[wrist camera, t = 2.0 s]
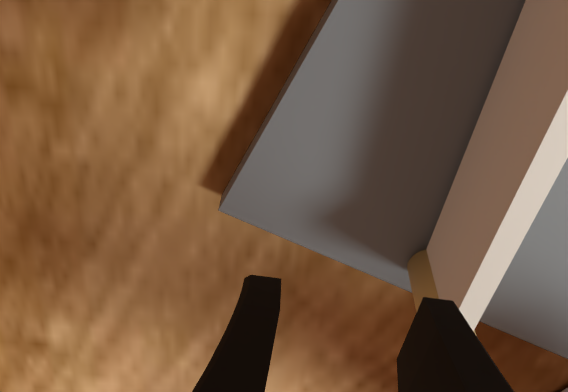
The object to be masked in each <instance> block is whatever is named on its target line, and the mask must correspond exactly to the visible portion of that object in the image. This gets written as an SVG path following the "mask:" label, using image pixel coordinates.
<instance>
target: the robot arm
mask: <svg viewBox="0 0 568 392" xmlns="http://www.w3.org/2000/svg"><path fill="white" fill-rule="evenodd" d="M280 297H281V279H279V278H271V277H264V276H256V275H250V276H248V277H246V278H245V279H244V283H243V288H242V291H241V294H240V297H239V300H238V303H237V305H236V308H235V310H234V313H233V315H232V317H231V320H230V322H229V324H228V326H227V329H226V331H225V333H224V335H223V337H222V339H221V341H220V343H219V344H218V346H217V348H216V350H215V352H214V354H213V356H212V358H211V360H210V362H209V364H208V366H207V367H206V369H205V371H204V373H203V374H202V376H201V378H200V379H199V381H198V383H197V384H196V386H195V388H194V389H193V391H192V392H265V387H266V381H267V376H268V371H269V365H270V360H271V355H272V349H273V344H274V339H275V333H276V328H277V323H278V317H279V312H280ZM397 373H398V392H514V391H513V389H512V388H511V387H510V385H509V384H508V382H507V381H506V380H505V378H504V377H503V375H502V374H501V372H500V371H499V369H498V368H497V366H496V365H495V363H494V362H493V360H492V359H491V357H490V356H489V354H488V353H487V351H486V350H485V348H484V347H483V345H482V344H481V342H480V341H479V339H478V338H477V336H476V335H475V333H474V332H473V330H472V329H471V327H470V325H469V324H468V322H467V321H466V319H465V318H464V316H463V315H462V313H461V312H460V310H459V309H458V307H457V306H456V304H455V303H454V301H452V300H444V299H436V298H428V297H423V299H422V301H421V304H420V306H419V308H418V311H417V313H416V315H415V318H414V320H413V322H412V325H411V327H410V329H409V332H408V334H407V336H406V339H405V341H404V343H403V346H402V348H401V350H400V353H399V355H398V357H397ZM562 392H568V388H566V389H565V390H563V391H562Z"/></svg>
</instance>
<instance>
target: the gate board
mask: <svg viewBox="0 0 568 392" xmlns="http://www.w3.org/2000/svg"><path fill="white" fill-rule="evenodd" d="M525 1H526V0H332V1H331V2H330V4H329V6H328V8H327V10H326V11H325V13H324V15H323V17H322V18H321V20H320V22H319V24H318V26H317V27H316V29H315V31H314V33H313V34H312V36H311V38H310V40H309V42H308V43H307V45H306V47H305V49H304V50H303V52H302V54H301V56H300V58H299V59H298V61H297V63H296V65H295V66H294V68H293V70H292V72H291V73H290V75H289V77H288V79H287V81H286V82H285V84H284V86H283V88H282V89H281V91H280V93H279V95H278V97H277V98H276V100H275V102H274V104H273V105H272V107H271V109H270V111H269V113H268V114H267V116H266V118H265V120H264V121H263V123H262V125H261V127H260V129H259V130H258V132H257V134H256V136H255V137H254V139H253V141H252V143H251V145H250V146H249V148H248V150H247V152H246V153H245V155H244V157H243V159H242V161H241V162H240V164H239V166H238V168H237V169H236V171H235V173H234V175H233V176H232V178H231V180H230V182H229V184H228V185H227V187H226V189H225V191H224V192H223V194H222V197H221V201H220V206H219V210H218V211H221V212H223V213H225V214H228V215H230V216H232V217H235V218H237V219H240V220H242V221H244V222H247V223H249V224H251V225H254V226H256V227H258V228H261V229H263V230H265V231H268V232H270V233H272V234H275V235H277V236H280V237H282V238H284V239H287V240H289V241H291V242H294V243H296V244H298V245H301V246H303V247H305V248H308V249H310V250H312V251H315V252H317V253H320V254H322V255H324V256H327V257H329V258H331V259H334V260H336V261H338V262H341V263H343V264H345V265H348V266H350V267H352V268H355V269H357V270H360V271H362V272H364V273H367V274H369V275H371V276H374V277H376V278H378V279H381V280H383V281H385V282H388V283H390V284H392V285H395V286H397V287H400V288H402V289H404V290H407V291H409V292H411V293H412V289H411V284H410V279H409V275H408V270H407V265H408V262H409V260H410V258H411V257H412V256H413V255H415V254H416V253H418V252H420V251H422V250H426V249H427V246H428V244H429V241H430V239H431V236H432V234H433V231H434V229H435V226H436V224H437V221H438V219H439V216H440V214H441V211H442V209H443V206H444V204H445V201H446V199H447V196H448V194H449V191H450V189H451V186H452V184H453V181H454V179H455V176H456V174H457V171H458V169H459V166H460V164H461V161H462V159H463V156H464V154H465V151H466V149H467V146H468V144H469V141H470V139H471V136H472V134H473V131H474V129H475V126H476V124H477V121H478V119H479V116H480V114H481V111H482V109H483V106H484V104H485V101H486V99H487V96H488V94H489V91H490V89H491V86H492V84H493V81H494V79H495V76H496V74H497V71H498V69H499V66H500V64H501V61H502V59H503V56H504V53H505V51H506V48H507V46H508V43H509V41H510V38H511V36H512V33H513V31H514V28H515V26H516V23H517V21H518V18H519V16H520V13H521V11H522V8H523V6H524V3H525ZM479 321H480V322H482V323H484V324H487V325H489V326H491V327H494V328H496V329H498V330H501V331H503V332H505V333H508V334H510V335H513V336H515V337H517V338H520V339H522V340H524V341H527V342H529V343H531V344H534V345H536V346H538V347H541V348H543V349H545V350H548V351H550V352H553V353H555V354H557V355H560V356H562V357H564V358H567V359H568V158H567V160H566V162H565V163H564V165H563V167H562V169H561V171H560V173H559V175H558V176H557V178H556V180H555V182H554V184H553V186H552V187H551V189H550V191H549V193H548V195H547V197H546V198H545V200H544V202H543V204H542V206H541V208H540V210H539V211H538V213H537V215H536V217H535V219H534V221H533V222H532V224H531V226H530V228H529V230H528V232H527V234H526V235H525V237H524V239H523V241H522V243H521V245H520V246H519V248H518V250H517V252H516V254H515V256H514V257H513V259H512V261H511V263H510V265H509V267H508V269H507V270H506V272H505V274H504V276H503V278H502V280H501V281H500V283H499V285H498V287H497V289H496V291H495V292H494V294H493V296H492V298H491V300H490V302H489V304H488V305H487V307H486V309H485V311H484V313H483V315H482V316H481V318H480V320H479Z"/></svg>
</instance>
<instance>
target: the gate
mask: <svg viewBox="0 0 568 392" xmlns="http://www.w3.org/2000/svg"><path fill="white" fill-rule="evenodd" d="M567 158H568V0H526V1H525V3H524V6H523V8H522V11H521V13H520V16H519V18H518V21H517V23H516V26H515V28H514V31H513V33H512V36H511V38H510V41H509V43H508V46H507V48H506V51H505V53H504V56H503V59H502V61H501V64H500V66H499V69H498V71H497V74H496V76H495V79H494V81H493V84H492V86H491V89H490V91H489V94H488V96H487V99H486V101H485V104H484V106H483V109H482V111H481V114H480V116H479V119H478V121H477V124H476V126H475V129H474V131H473V134H472V136H471V139H470V141H469V144H468V146H467V149H466V151H465V154H464V156H463V159H462V161H461V164H460V166H459V169H458V171H457V174H456V176H455V179H454V181H453V184H452V186H451V189H450V191H449V194H448V196H447V199H446V201H445V204H444V206H443V209H442V211H441V214H440V216H439V219H438V221H437V224H436V226H435V229H434V231H433V234H432V236H431V239H430V241H429V244H428V246H427V249H426V250H422V251H420V252H418V253H416V254H415V255H413V256H412V257H411V258H410V260H409V262H408V265H407V270H408V275H409V279H410V284H411V289H412V294H413V299H414V304H415V309H416V313H417V311H418V308H419V306H420V304H421V301H422V299H423V297H428V298H436V299H444V300H452V301H454V303H455V304H456V306H457V307H458V309H459V310H460V312H461V313H462V315H463V316H464V318H465V319H466V321H467V322H468V324H469V325H470V327H471V329H472V330H473V332H474V333H475V335H476V332H475V328H476V326H477V324H478V322H479V320H480V318H481V316H482V315H483V313H484V311H485V309H486V307H487V305H488V304H489V302H490V300H491V298H492V296H493V294H494V292H495V291H496V289H497V287H498V285H499V283H500V281H501V280H502V278H503V276H504V274H505V272H506V270H507V269H508V267H509V265H510V263H511V261H512V259H513V257H514V256H515V254H516V252H517V250H518V248H519V246H520V245H521V243H522V241H523V239H524V237H525V235H526V234H527V232H528V230H529V228H530V226H531V224H532V222H533V221H534V219H535V217H536V215H537V213H538V211H539V210H540V208H541V206H542V204H543V202H544V200H545V198H546V197H547V195H548V193H549V191H550V189H551V187H552V186H553V184H554V182H555V180H556V178H557V176H558V175H559V173H560V171H561V169H562V167H563V165H564V163H565V162H566V160H567Z"/></svg>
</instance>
